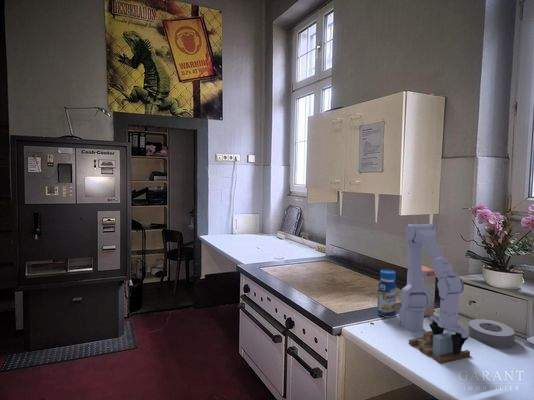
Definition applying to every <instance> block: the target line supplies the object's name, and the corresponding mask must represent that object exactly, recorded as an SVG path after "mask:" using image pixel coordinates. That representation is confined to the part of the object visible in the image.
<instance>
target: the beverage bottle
mask: <svg viewBox="0 0 534 400" xmlns="http://www.w3.org/2000/svg"><path fill="white" fill-rule="evenodd" d="M379 278H380V280H379V281H378V284H377V287H378V288H377V308H376V313H377V315H378V314H379V315H378V316H380V315H382V316H385V317H384V318H389V319H390V318H395V317H396V316H397V296H398V291H397V288H398V285H397V282H396V281H395V280H396V278H397V272H396V271H395V270H393V269H392V270H391V269H381V270H380V271H379ZM382 316H381V317H382Z"/></svg>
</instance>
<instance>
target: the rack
mask: <svg viewBox="0 0 534 400" xmlns="http://www.w3.org/2000/svg"><path fill="white" fill-rule="evenodd" d="M418 339H423V336H422V337H418V338H412V339H408V345H410V346H412V347H413V348H414V349H416V350H418V351H419V352H421V353H423V354H424V355H425V356H427V357H429V358H430V359H432V360H434V361H435V362H437V363H438V364H441V365H442V364H446V363H447V364H448V363H451V362H454V361H455V362H456V361H460V360H464V359H468V358H472V356H471V351H470V350H468V349H465V350H462V351H460V354H458V355H454V354H453V353H450V354H445V355H441V356H436V357H435V356H434V355H432V353H433V344H429V345H424V346H419V345H418Z"/></svg>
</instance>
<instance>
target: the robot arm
mask: <svg viewBox="0 0 534 400" xmlns="http://www.w3.org/2000/svg"><path fill="white" fill-rule="evenodd" d="M404 231H405V232H404V240H405V244H406V245H407V271H408V285H407V284H406V285H405V286H403V287H402V289H401V294H400V304H401V306H400V309H399V311H398V324H399V325H400V326H402V327H403V328H405V329H406V330H408V331H411V332H422V331H424V322H425V321H424V318H425V316H424V310H426V308H427V307H428V306H429V303H430V300H429V297H428V291H427V289H425V288H424V287H423V286H422V266H423V265H422V263H423V262H422V247H423V246H424V248H425V250H426V251H427V254H429V256H430V258H431V260H432V262H431V267H432V270H434V272H435V274H436V278H437V280H438V281H437V289H438V296H439V298H440V303H439V306H440V307H439V316H437V315H433V316H429V321H430V322H431V323H429V328H430V331H432V332H433V335H438V334H443V333H444V330H445V329H447V330H448V331H450V332H455V333H456V334H453V335H451V338H452V342H453V354H454V355H458V354H460V351H461V348H462V349H463V345H464V344H465V343H466V341H467V340H468V339H469V336H468V335H469V332H468V330H466V329H465V328H464V327H462V326H461V325H459V312H460V311H459V309H460V307H459V306H460V294H462V293H463V292H464V290H465V284H464V281H463V279H462V278H461V276H459V275H458V274H457V273H455V272H454V270H453V268H452V266H451V263H449V260H448V259H447V258H445V257H443V255H442V253H441V250H440V247H439V245H438V242H437V230H436V228H435V226H434V225H433V224H432V223H429V224H427V223H425V224H417V223H416V224H415V223H414V224H413V223H411V224H410V223H409V224H408V225H407V226H406V228H405V230H404Z"/></svg>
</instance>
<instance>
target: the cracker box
mask: <svg viewBox="0 0 534 400" xmlns="http://www.w3.org/2000/svg"><path fill="white" fill-rule="evenodd" d="M406 275H407V276H406V286H407V285H408V270H407V274H406ZM436 278H437V276H436V274H435V272H434V269H433V268H429V267H428V266H425V265H422V286H423V287H424V288H425V289H427V291H428V297H429V300H430V303H429V306H428V307H427V308H426V310H424V317H430V316H433V315H434V311H435V310H434V309H435V295H436V294H435V293H436Z"/></svg>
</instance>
